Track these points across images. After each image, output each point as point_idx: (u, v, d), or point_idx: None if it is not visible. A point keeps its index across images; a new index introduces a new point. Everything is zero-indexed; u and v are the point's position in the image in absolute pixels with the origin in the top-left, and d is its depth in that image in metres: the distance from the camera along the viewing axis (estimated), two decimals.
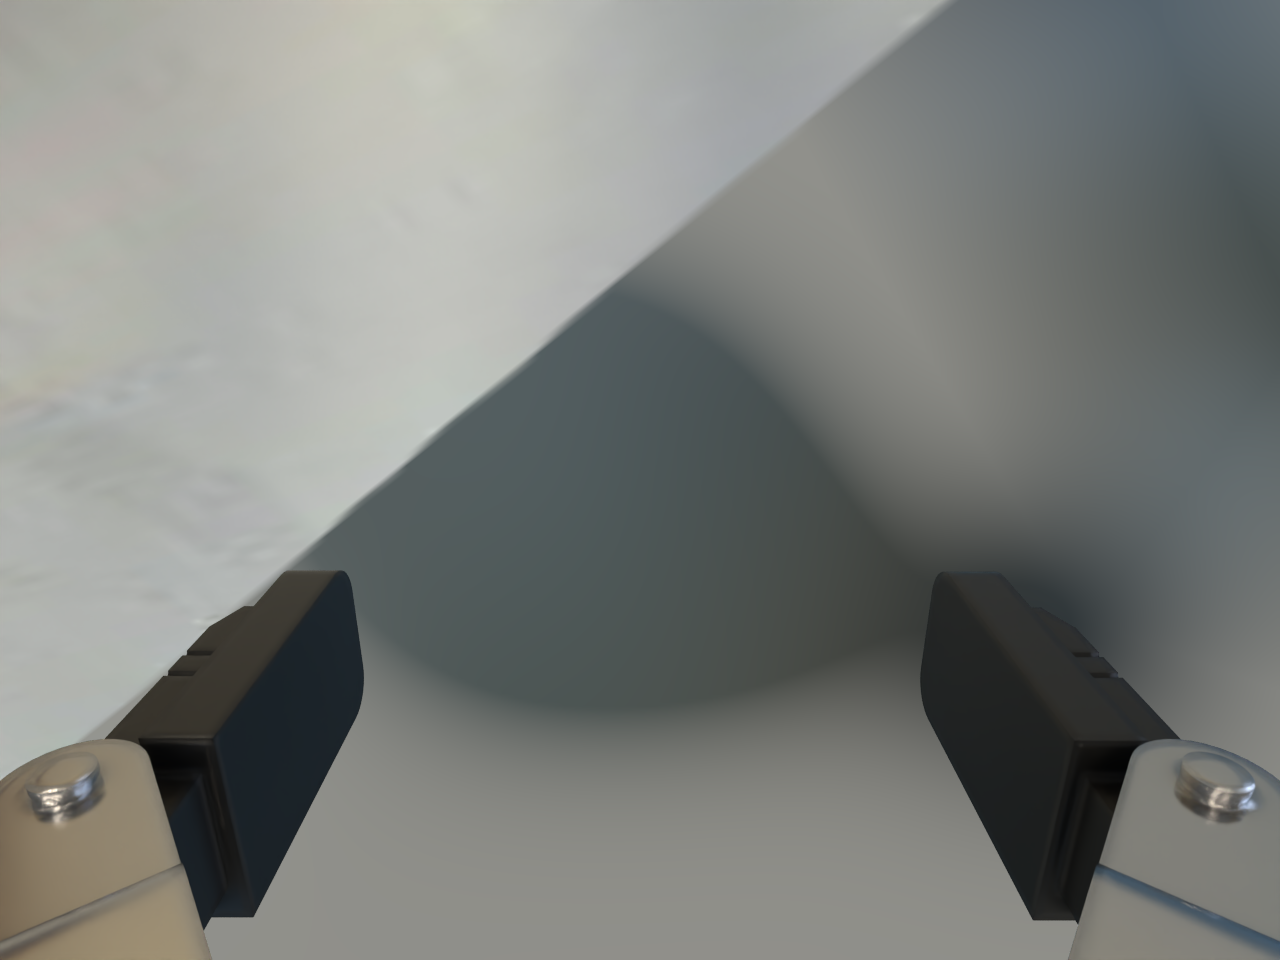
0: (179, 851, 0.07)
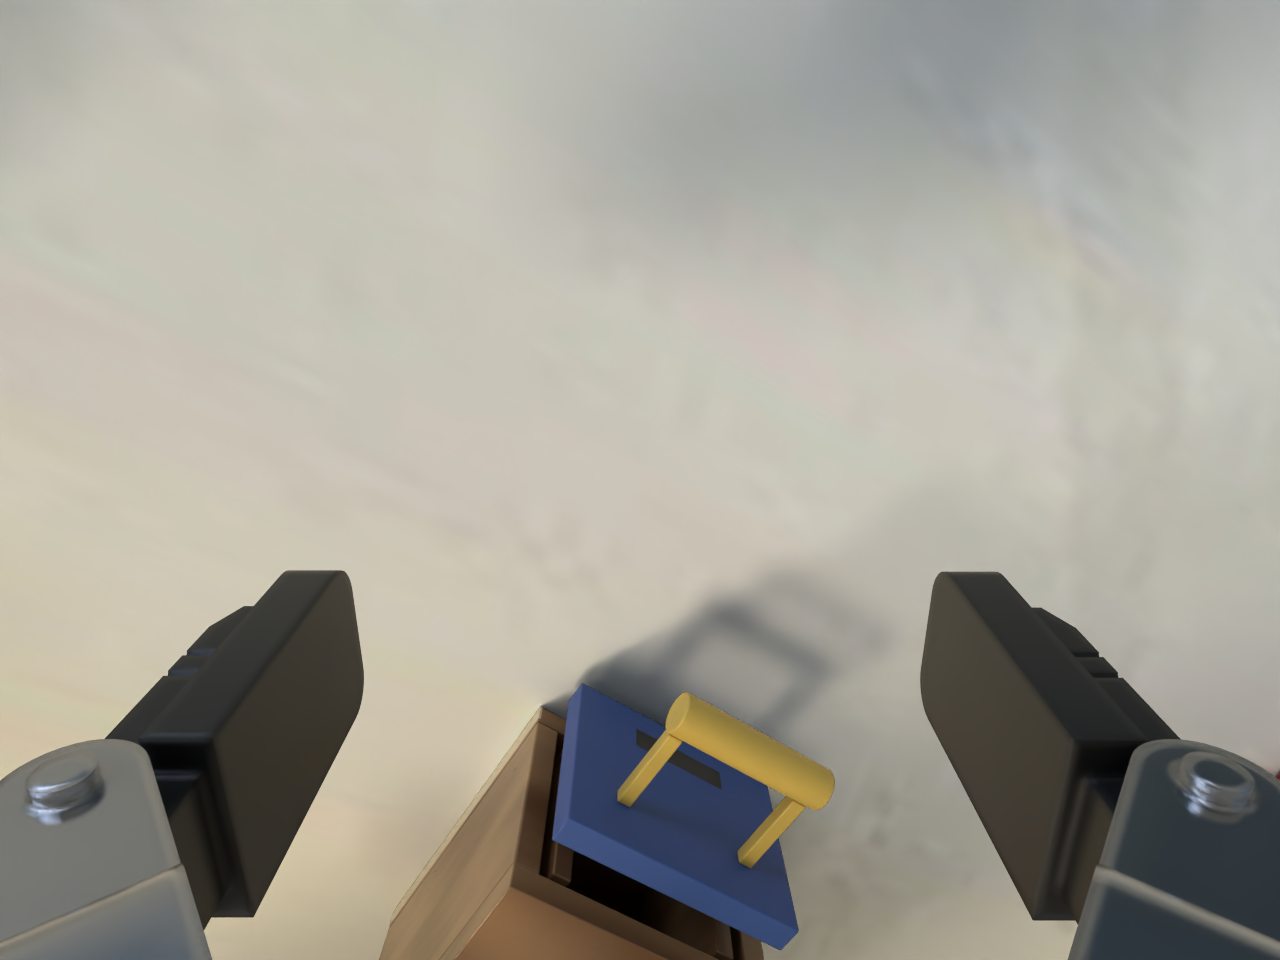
0: (179, 851, 0.07)
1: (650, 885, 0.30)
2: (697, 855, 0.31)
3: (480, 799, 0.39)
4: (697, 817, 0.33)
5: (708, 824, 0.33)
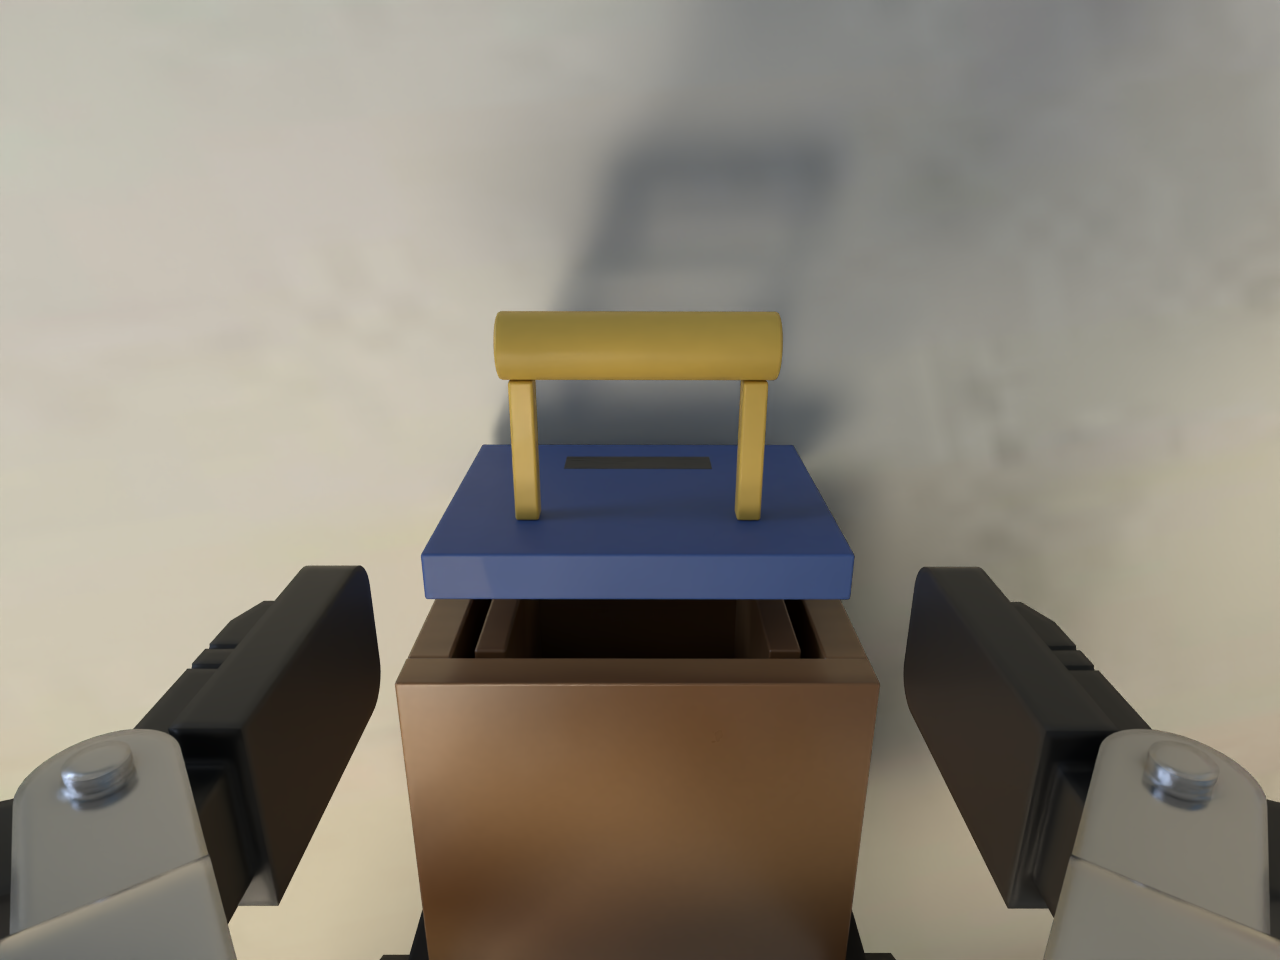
0: (208, 839, 0.07)
1: (601, 597, 0.19)
2: (659, 532, 0.20)
3: None
4: (663, 500, 0.22)
5: (683, 501, 0.22)
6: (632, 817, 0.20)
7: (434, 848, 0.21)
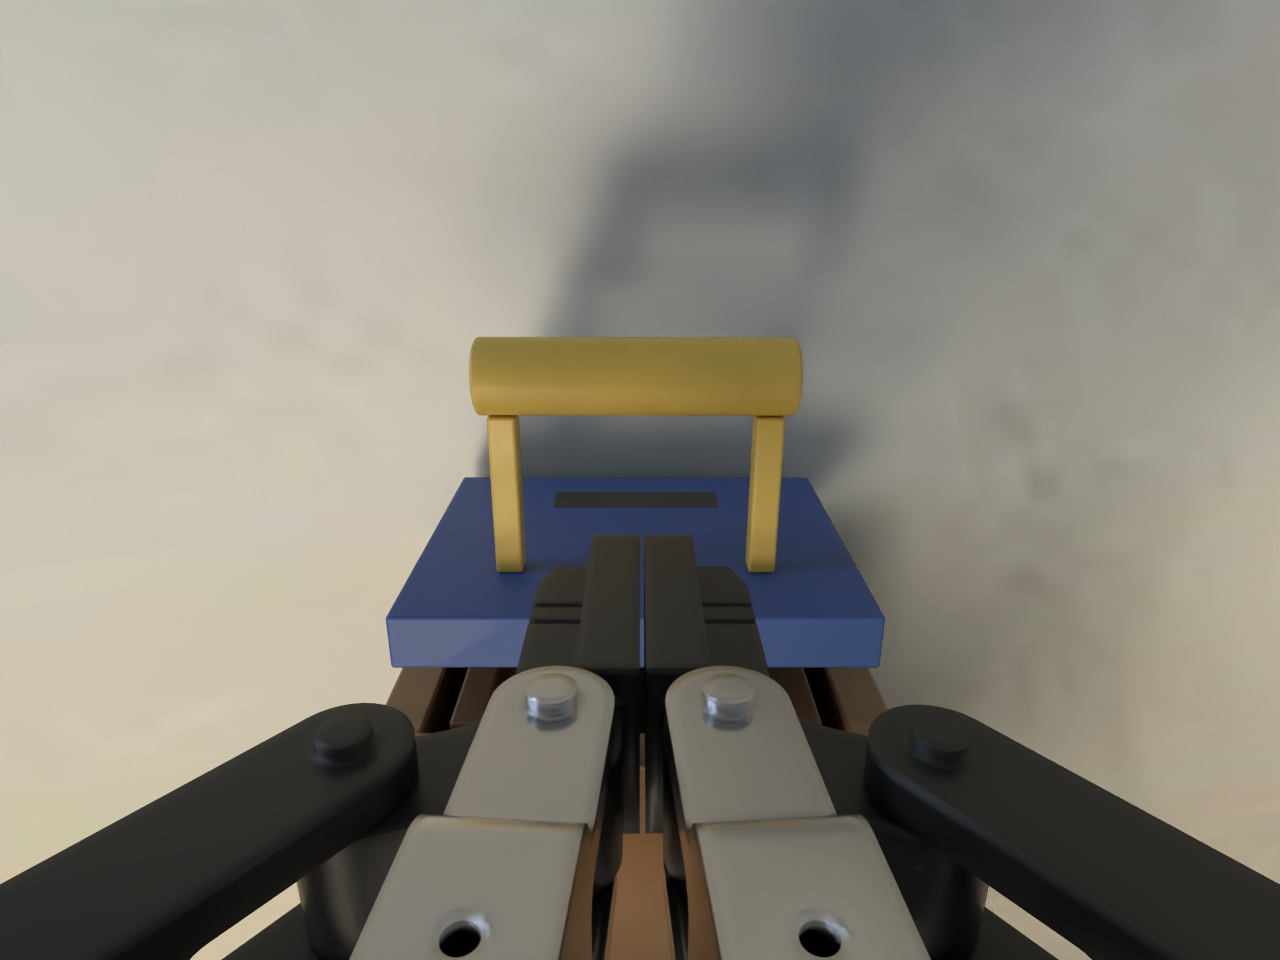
0: None
1: None
2: None
3: None
4: None
5: None
6: (629, 912, 0.18)
7: None
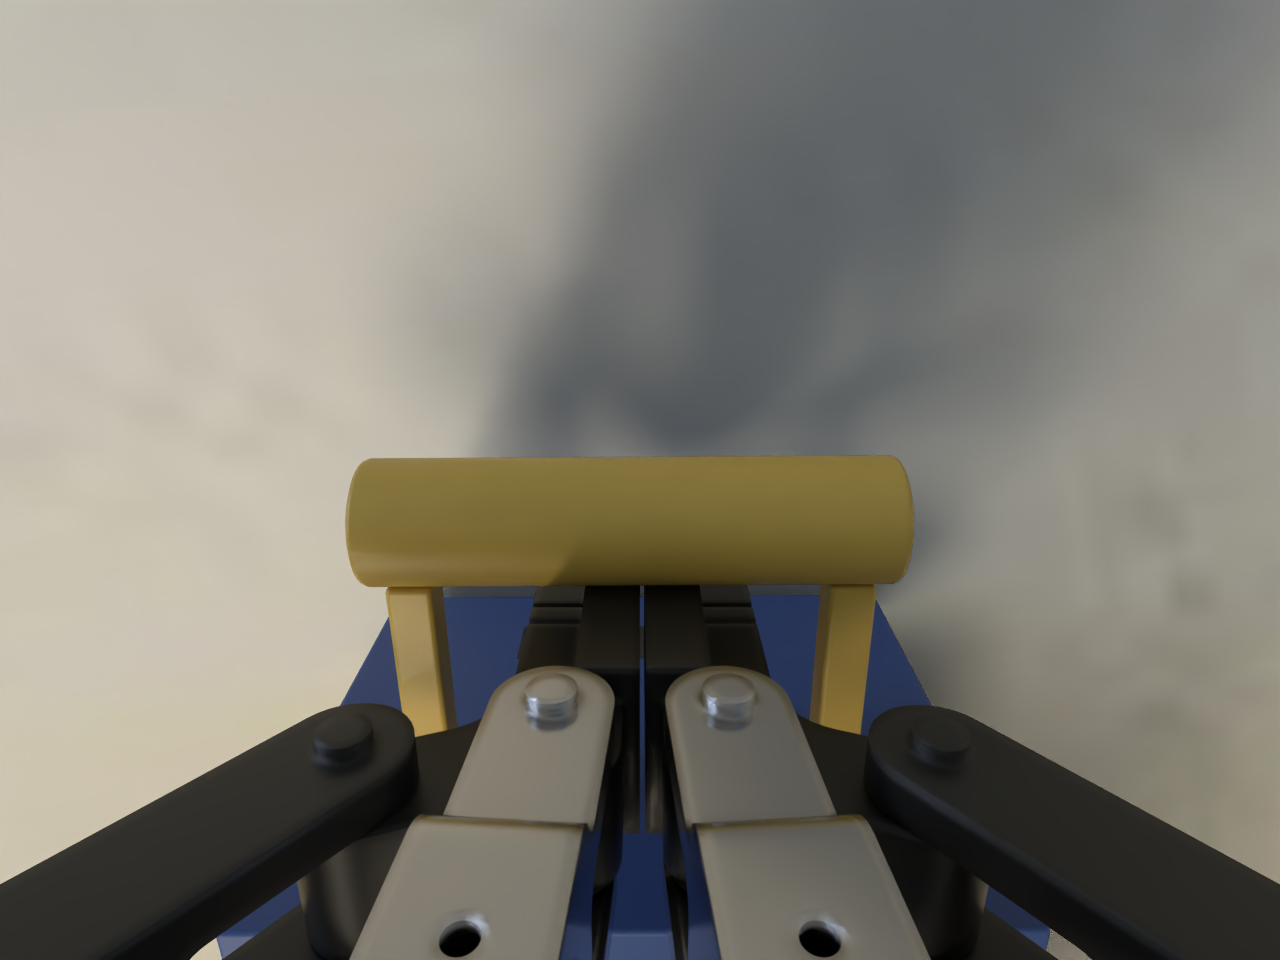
0: None
1: None
2: None
3: None
4: None
5: None
6: None
7: None
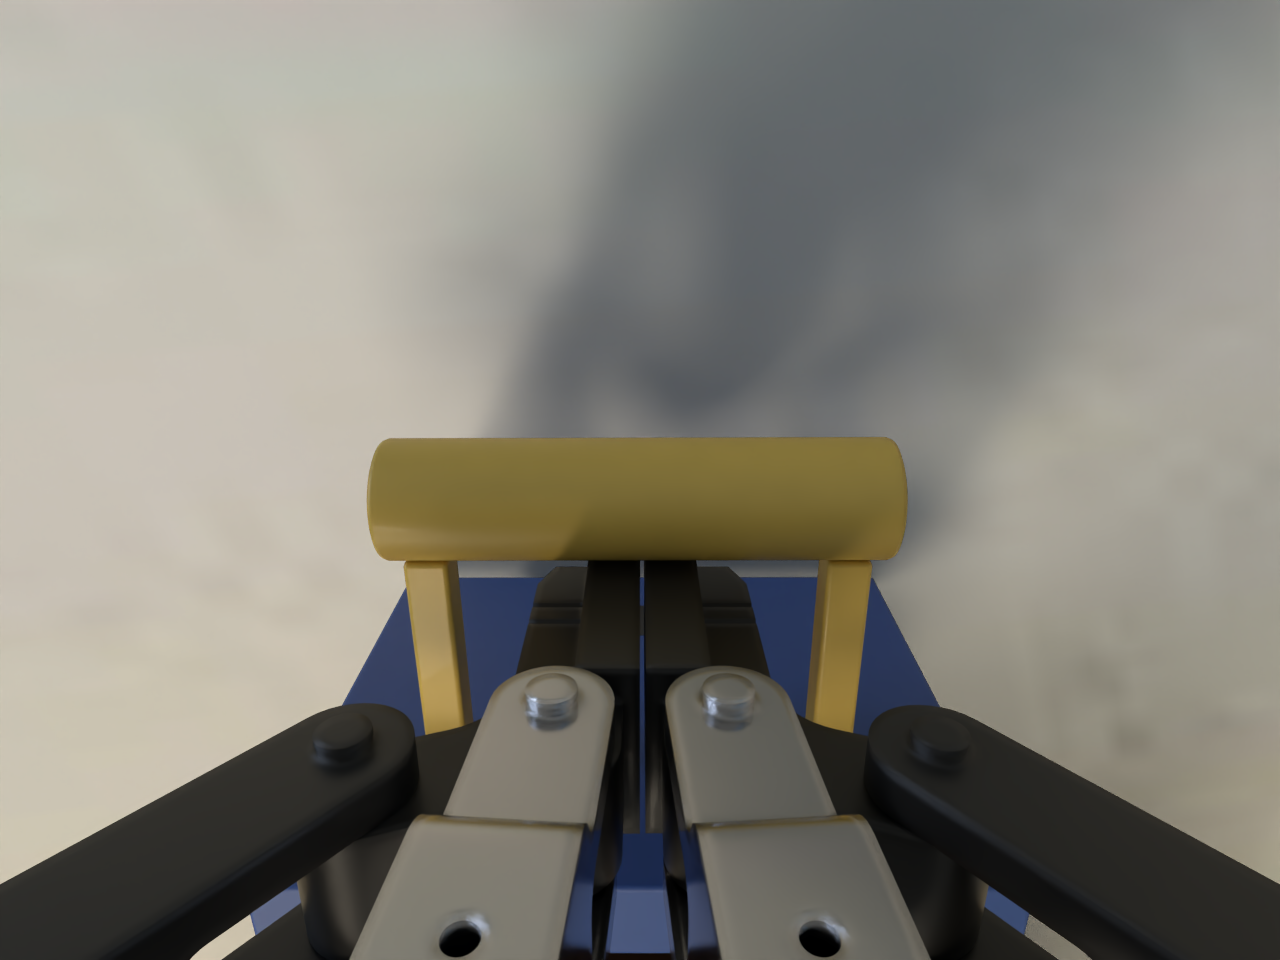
0: None
1: None
2: None
3: None
4: None
5: None
6: None
7: None
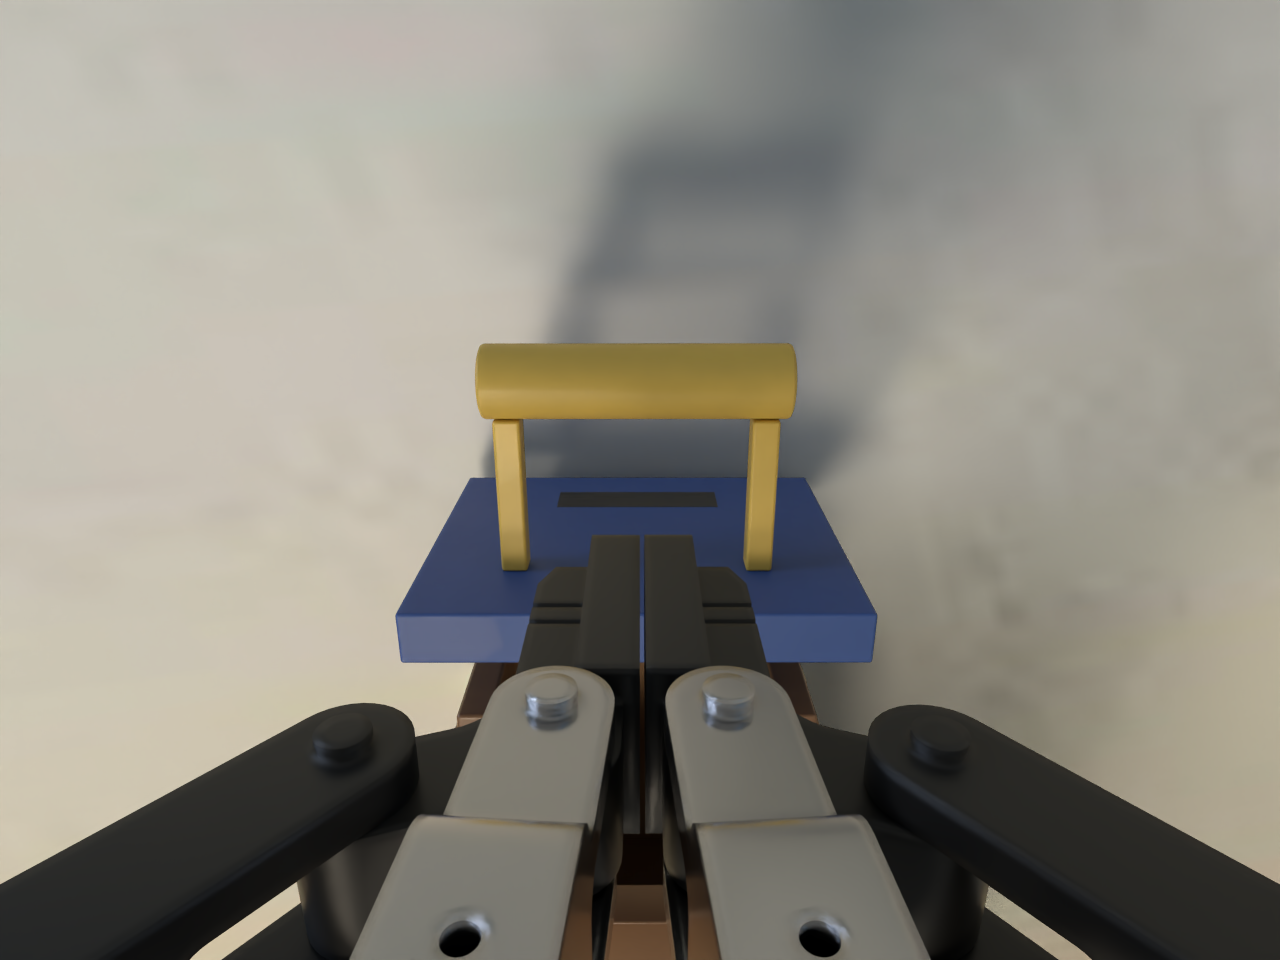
0: None
1: None
2: None
3: None
4: None
5: None
6: None
7: None
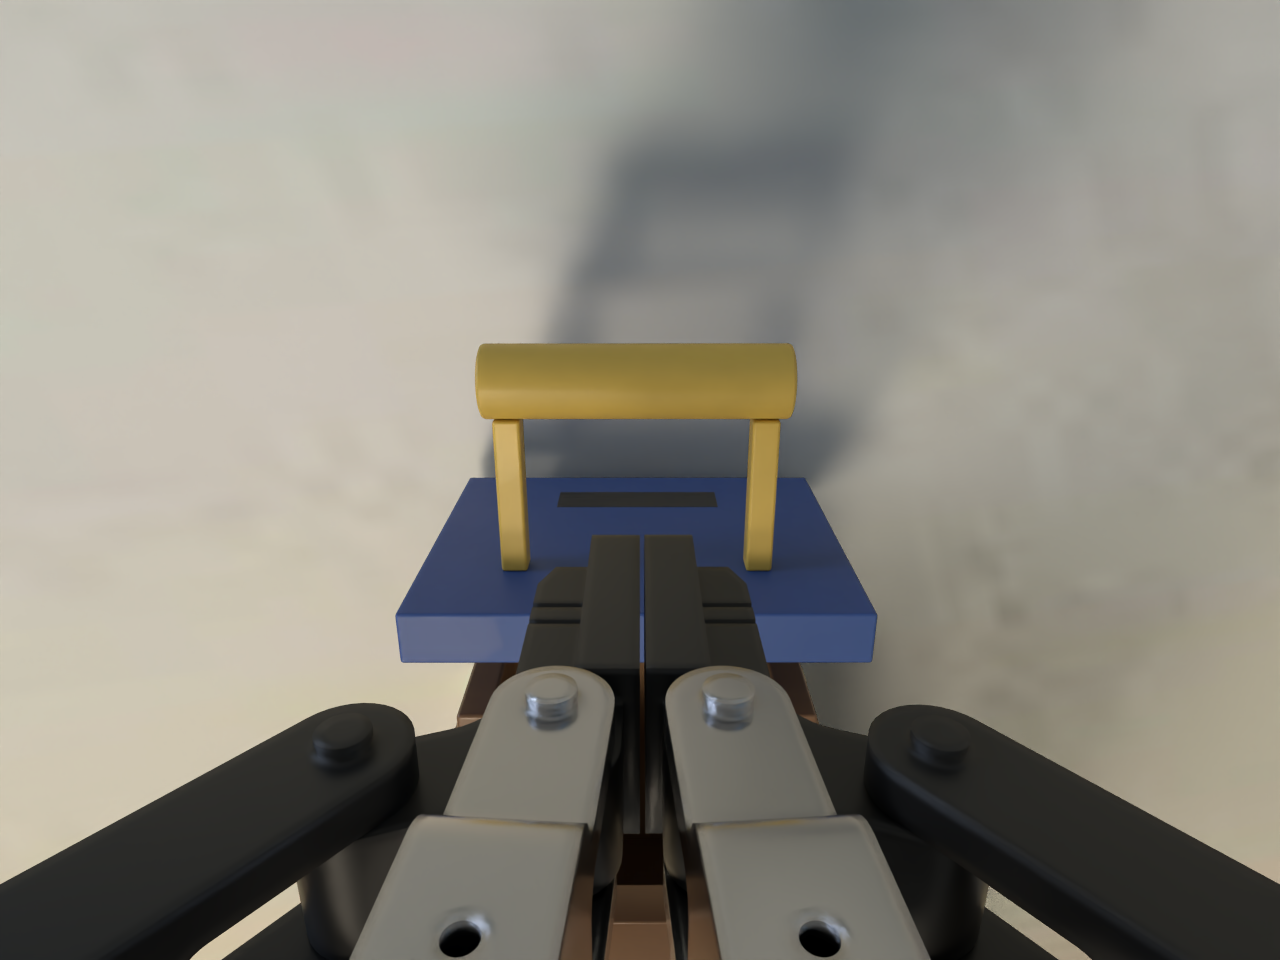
0: None
1: None
2: None
3: None
4: None
5: None
6: None
7: None
